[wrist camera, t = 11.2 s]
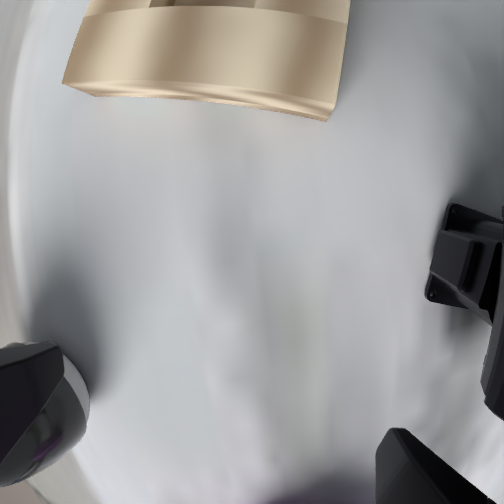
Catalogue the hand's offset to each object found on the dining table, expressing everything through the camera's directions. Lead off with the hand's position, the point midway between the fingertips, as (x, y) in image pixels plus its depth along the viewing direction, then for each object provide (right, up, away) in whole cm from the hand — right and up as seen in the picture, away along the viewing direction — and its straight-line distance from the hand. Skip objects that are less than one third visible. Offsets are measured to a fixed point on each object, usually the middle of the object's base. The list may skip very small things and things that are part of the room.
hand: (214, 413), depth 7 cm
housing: (-1, +21, +9) cm, 23 cm away
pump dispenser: (-17, -8, +17) cm, 25 cm away
